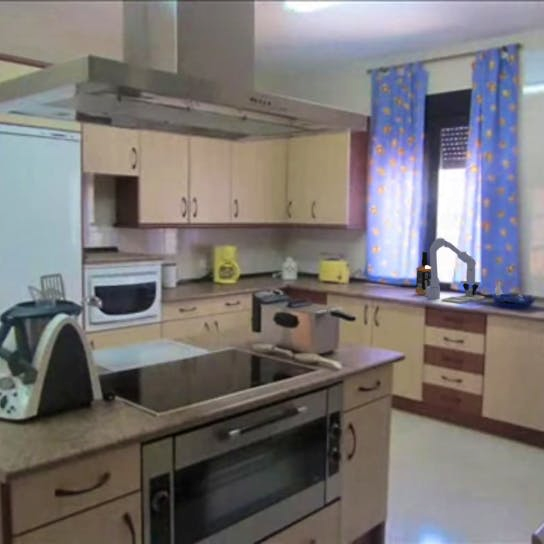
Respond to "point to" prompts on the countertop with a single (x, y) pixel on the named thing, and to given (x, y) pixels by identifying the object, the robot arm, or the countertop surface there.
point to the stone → (469, 293)
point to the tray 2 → (474, 298)
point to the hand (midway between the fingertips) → (470, 294)
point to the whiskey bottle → (423, 275)
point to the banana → (499, 289)
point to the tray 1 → (456, 300)
